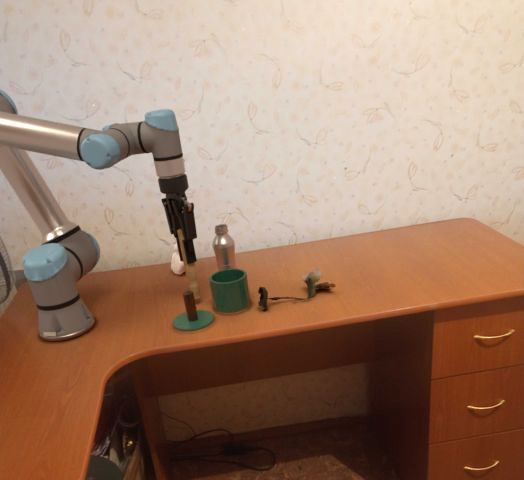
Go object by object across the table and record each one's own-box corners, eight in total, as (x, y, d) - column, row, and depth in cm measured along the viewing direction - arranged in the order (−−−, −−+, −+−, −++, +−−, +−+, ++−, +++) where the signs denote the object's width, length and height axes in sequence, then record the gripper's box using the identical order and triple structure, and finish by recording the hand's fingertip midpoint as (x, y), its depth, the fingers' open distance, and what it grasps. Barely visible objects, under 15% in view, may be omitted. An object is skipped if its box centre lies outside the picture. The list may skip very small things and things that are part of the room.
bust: (187, 282, 178) (203, 252, 175) (167, 273, 174) (182, 243, 171) (180, 271, 188) (194, 242, 185) (161, 262, 184) (175, 233, 181)
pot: (207, 309, 153) (201, 278, 148) (232, 295, 159) (228, 266, 154) (232, 318, 146) (227, 286, 141) (258, 303, 152) (254, 272, 148)
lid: (164, 326, 146) (157, 296, 142) (196, 310, 153) (190, 280, 148) (191, 337, 139) (185, 305, 134) (223, 319, 146) (217, 289, 141)
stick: (188, 297, 154) (174, 230, 144) (196, 293, 156) (183, 227, 146) (195, 299, 153) (181, 232, 143) (202, 295, 154) (190, 228, 144)
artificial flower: (255, 308, 153) (252, 273, 151) (328, 300, 158) (327, 266, 156) (262, 312, 144) (260, 275, 142) (340, 304, 149) (339, 268, 147)
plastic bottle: (238, 294, 159) (229, 229, 149) (217, 294, 161) (206, 230, 151) (243, 285, 165) (235, 222, 155) (223, 285, 166) (212, 223, 156)
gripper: (200, 175, 133) (215, 263, 145) (169, 169, 145) (185, 251, 156) (174, 182, 130) (192, 272, 141) (144, 175, 141) (163, 259, 153)
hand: (188, 261), depth 149 cm, fingers closed on stick, 3 cm apart
